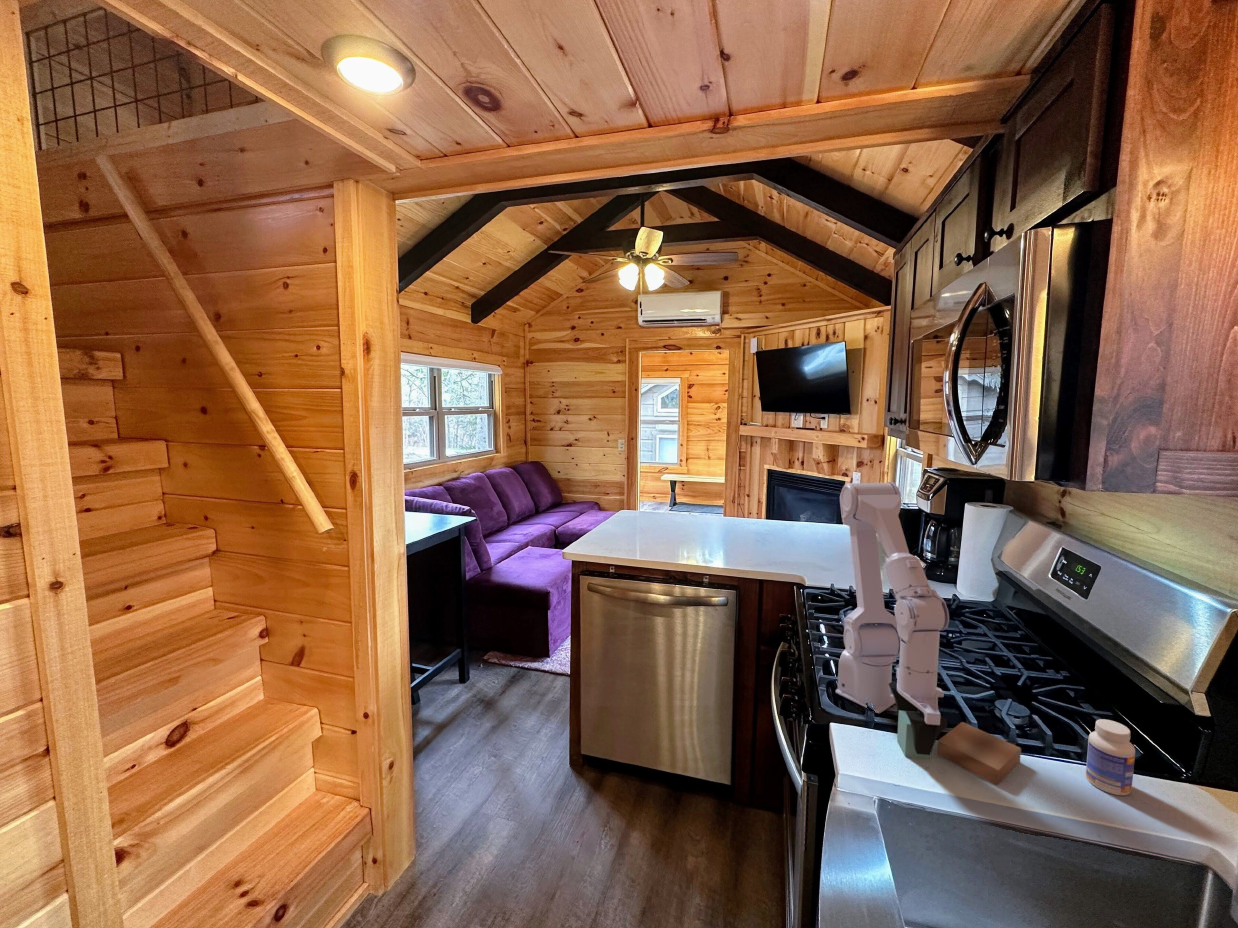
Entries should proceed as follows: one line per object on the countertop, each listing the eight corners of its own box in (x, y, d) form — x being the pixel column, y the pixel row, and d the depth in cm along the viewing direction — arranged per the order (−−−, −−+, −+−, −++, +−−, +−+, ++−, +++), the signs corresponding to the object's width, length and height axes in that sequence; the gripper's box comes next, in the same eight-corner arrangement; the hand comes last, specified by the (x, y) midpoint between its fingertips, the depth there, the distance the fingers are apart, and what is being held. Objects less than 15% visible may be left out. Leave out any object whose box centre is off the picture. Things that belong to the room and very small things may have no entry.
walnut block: (936, 756, 92) (938, 740, 91) (960, 736, 97) (962, 721, 96) (997, 787, 84) (998, 770, 84) (1019, 764, 90) (1021, 747, 89)
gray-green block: (905, 756, 91) (906, 723, 91) (897, 741, 95) (898, 710, 95) (930, 758, 91) (932, 726, 90) (921, 743, 95) (923, 712, 94)
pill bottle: (1133, 801, 80) (1140, 742, 79) (1086, 786, 84) (1092, 729, 82) (1128, 780, 85) (1134, 723, 84) (1083, 767, 88) (1088, 712, 87)
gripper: (963, 689, 83) (958, 769, 85) (927, 646, 97) (923, 715, 99) (914, 685, 84) (910, 764, 86) (885, 644, 99) (882, 712, 100)
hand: (914, 738), depth 93 cm, fingers open, 7 cm apart
